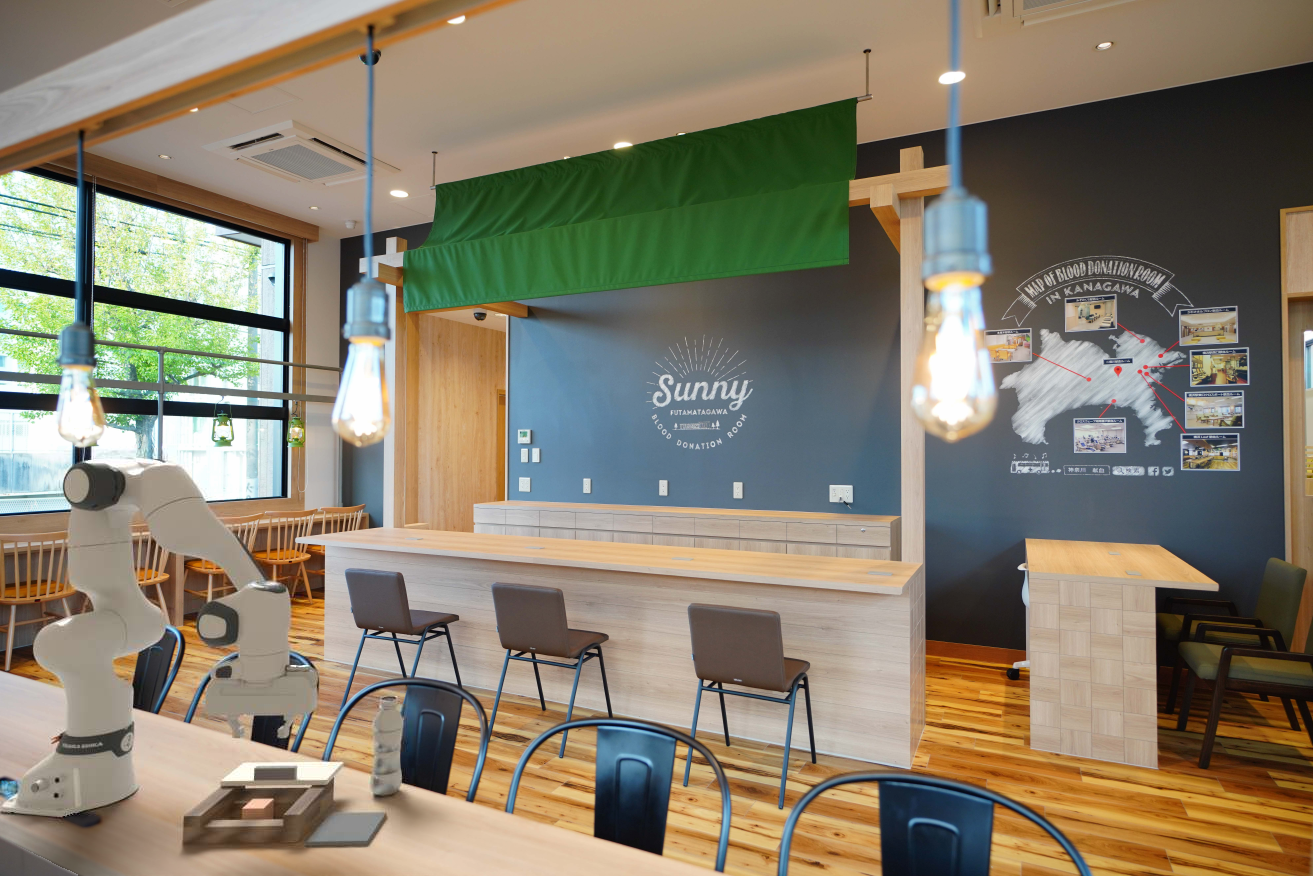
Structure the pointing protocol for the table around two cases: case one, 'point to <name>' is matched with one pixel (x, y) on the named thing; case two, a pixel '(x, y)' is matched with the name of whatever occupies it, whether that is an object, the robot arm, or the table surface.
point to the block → (258, 809)
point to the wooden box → (228, 801)
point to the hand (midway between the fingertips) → (260, 737)
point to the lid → (282, 774)
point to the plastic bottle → (387, 748)
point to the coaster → (347, 829)
